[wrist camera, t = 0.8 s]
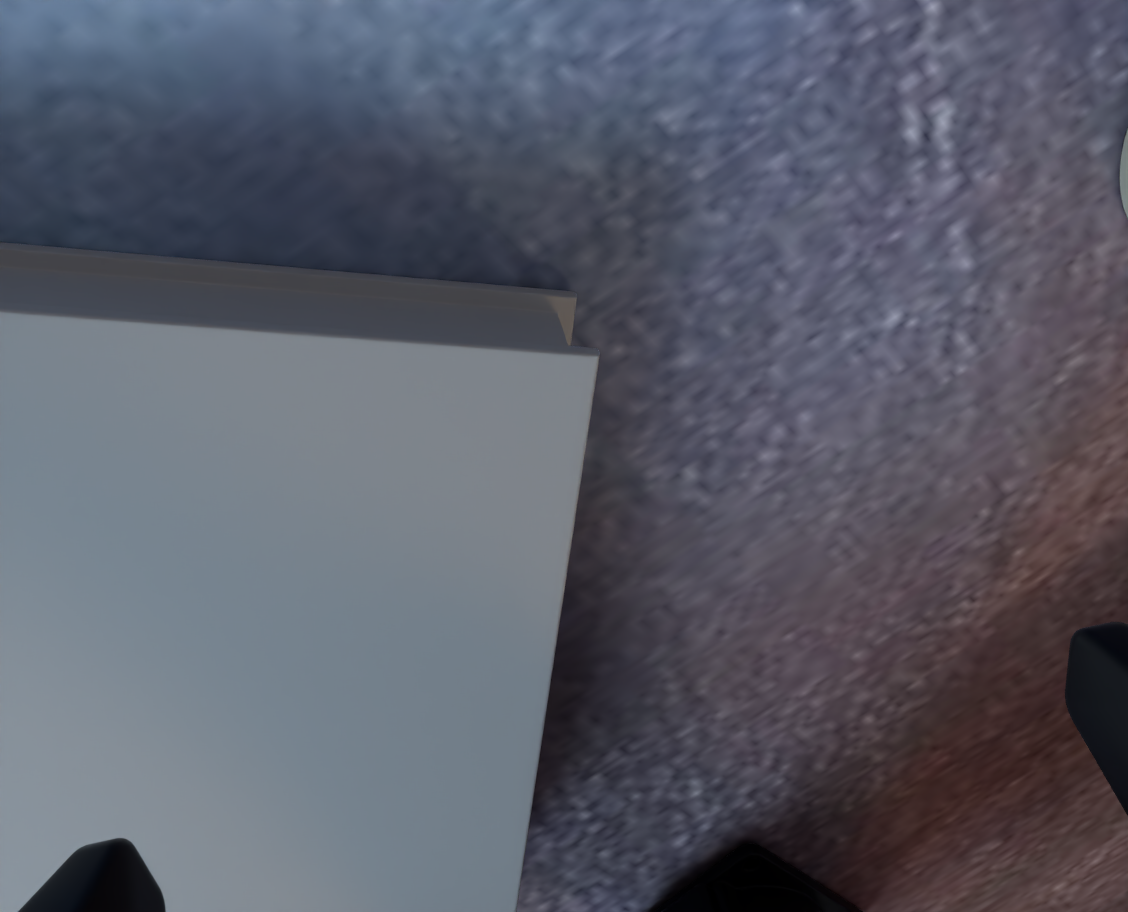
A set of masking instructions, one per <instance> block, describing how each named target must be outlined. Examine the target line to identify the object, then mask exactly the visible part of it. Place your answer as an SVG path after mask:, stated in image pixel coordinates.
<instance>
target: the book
mask: <svg viewBox="0 0 1128 912" xmlns="http://www.w3.org/2000/svg"><path fill="white" fill-rule="evenodd" d="M576 301H577V295H576V293H575V292H572V291H561V290H550V289H539V288H527V287H516V286H504V285H493V284H481V283H469V282H458V281H446V280H434V279H423V278H411V277H400V276H388V275H376V274H365V273H353V272H341V271H330V270H318V269H307V268H295V267H283V266H272V265H260V264H248V263H237V262H225V261H214V260H202V259H190V258H179V257H167V256H155V255H144V254H132V253H121V252H109V251H97V250H86V249H74V248H63V247H51V246H39V245H28V244H16V243H4V242H0V912H18V911H19V910H20V909H21V908H22V907H23V906H24V905H25V903H26V902H27V901H28V900H29V899H30V898H31V897H32V896H33V895H34V894H35V893H36V892H37V891H38V890H39V889H40V888H41V886H42V885H43V884H44V883H45V882H46V881H47V880H48V879H49V878H50V877H51V876H52V875H53V874H54V873H55V872H56V871H57V869H58V868H59V867H60V866H61V865H62V864H63V863H64V862H65V861H66V860H67V859H68V858H69V857H70V856H71V855H72V854H73V853H74V852H75V851H76V850H77V849H79V848H80V847H83V846H85V845H88V844H92V843H97V842H101V841H106V840H110V839H115V838H125V839H127V840H129V841H131V842H132V843H133V845H134V846H135V847H136V849H137V851H138V852H139V854H140V856H141V857H142V859H143V861H144V862H145V864H146V866H147V867H148V869H149V871H150V872H151V874H152V876H153V877H154V879H155V881H156V882H157V884H158V886H159V887H160V889H161V891H162V894H163V897H164V901H165V907H166V912H516V910H517V903H518V896H519V890H520V883H521V876H522V870H523V863H524V856H525V850H526V843H527V836H528V830H529V823H530V816H531V810H532V803H533V796H534V790H535V783H536V776H537V770H538V763H539V756H540V750H541V743H542V736H543V730H544V723H545V716H546V710H547V703H548V696H549V690H550V683H551V676H552V670H553V663H554V656H555V650H556V643H557V636H558V630H559V623H560V616H561V610H562V603H563V597H564V590H565V583H566V577H567V570H568V563H569V557H570V550H571V543H572V537H573V530H574V523H575V517H576V510H577V503H578V497H579V490H580V483H581V477H582V470H583V463H584V457H585V450H586V443H587V437H588V430H589V423H590V417H591V410H592V403H593V397H594V390H595V383H596V377H597V370H598V363H599V356H600V354H599V351H598V349H597V348H588V347H577V346H571V339H572V331H573V324H574V316H575V309H576Z"/></svg>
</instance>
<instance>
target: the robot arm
mask: <svg viewBox="0 0 1128 912" xmlns="http://www.w3.org/2000/svg"><path fill="white" fill-rule="evenodd" d="M1065 699H1066V705H1067V708H1068V711H1069V714H1070V716H1071V719H1072V720H1073V722H1074V724H1075V726H1076V728H1077V729H1078V731H1079V733H1080V734H1081V736H1082V738H1083V740H1084V741H1085V743H1086V745H1087V746H1088V748H1089V750H1090V752H1091V753H1092V755H1093V757H1094V759H1095V760H1096V762H1097V764H1098V765H1099V767H1100V769H1101V771H1102V772H1103V774H1104V776H1105V777H1106V779H1107V781H1108V783H1109V784H1110V786H1111V788H1112V790H1113V791H1114V793H1115V795H1116V796H1117V798H1118V800H1119V802H1120V803H1121V805H1122V807H1123V808H1124V810H1125V812H1126V814H1127V815H1128V624H1126V623H1122V622H1109V623H1104V624H1100V625H1095V626H1091V627H1086V628H1082V629H1079V630H1077V631H1076V632H1075V633H1074V635H1073V636H1072V638H1071V642H1070V650H1069V659H1068V669H1067V678H1066V688H1065ZM18 912H166V907H165V901H164V897H163V894H162V891H161V889H160V887H159V886H158V884H157V882H156V881H155V879H154V877H153V876H152V874H151V872H150V871H149V869H148V867H147V866H146V864H145V862H144V861H143V859H142V857H141V856H140V854H139V852H138V851H137V849H136V847H135V846H134V845H133V843H132V842H131V841H129V840H127V839H125V838H115V839H110V840H106V841H101V842H97V843H92V844H88V845H85V846H83V847H80V848H79V849H77V850H76V851H75V852H74V853H73V854H72V855H71V856H70V857H69V858H68V859H67V860H66V861H65V862H64V863H63V864H62V865H61V866H60V867H59V868H58V869H57V871H56V872H55V873H54V874H53V875H52V876H51V877H50V878H49V879H48V880H47V881H46V882H45V883H44V884H43V885H42V886H41V888H40V889H39V890H38V891H37V892H36V893H35V894H34V895H33V896H32V897H31V898H30V899H29V900H28V901H27V902H26V903H25V905H24V906H23V907H22V908H21V909H20V910H19V911H18ZM654 912H863V911H862V910H860V909H859V908H857V907H855V906H854V905H852V904H851V903H849V902H848V901H846V900H844V899H843V898H841V897H840V896H838V895H837V894H835V893H833V892H832V891H830V890H829V889H827V888H826V887H824V886H822V885H821V884H819V883H818V882H816V881H814V880H813V879H811V878H810V877H808V876H807V875H805V874H803V873H802V872H800V871H799V870H797V869H796V868H794V867H792V866H791V865H789V864H788V863H786V862H785V861H783V860H781V859H780V858H778V857H777V856H775V855H774V854H772V853H770V852H769V851H767V850H766V849H764V848H762V847H761V846H759V845H757V844H745V845H742V846H740V847H738V848H737V849H736V850H734V851H733V852H732V853H730V854H729V855H728V856H726V857H725V858H724V859H722V860H721V861H720V862H719V863H717V864H716V865H715V866H713V867H712V868H711V869H709V870H708V871H707V872H705V873H704V874H703V875H701V876H700V877H699V878H698V879H696V880H695V881H694V882H692V883H691V884H690V885H688V886H687V887H686V888H684V889H683V890H682V891H680V892H679V893H678V894H677V895H675V896H674V897H673V898H671V899H670V900H669V901H667V902H666V903H665V904H663V905H662V906H661V907H659V908H658V909H657V910H656V911H654Z"/></svg>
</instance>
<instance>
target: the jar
mask: <svg viewBox="0 0 1128 912" xmlns="http://www.w3.org/2000/svg"><path fill="white" fill-rule="evenodd" d="M1119 181H1120V194H1121V199H1122V204H1123V208H1124V211H1125V213H1126V216H1127V219H1128V128H1127V132H1126V135H1125V138H1124V142H1123V147H1122V153H1121V158H1120V172H1119Z"/></svg>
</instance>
